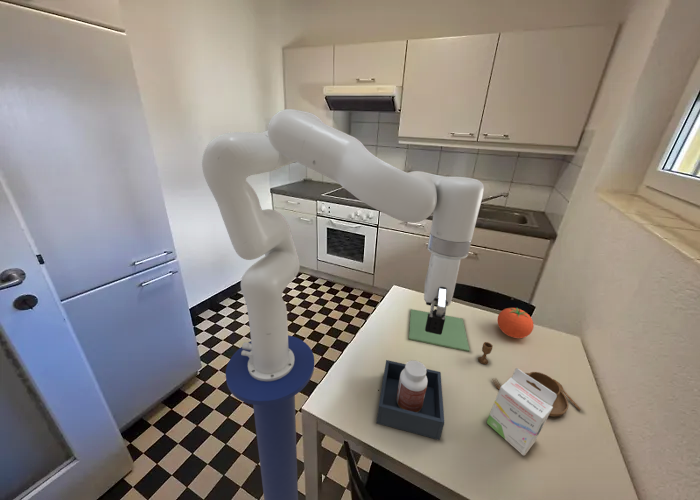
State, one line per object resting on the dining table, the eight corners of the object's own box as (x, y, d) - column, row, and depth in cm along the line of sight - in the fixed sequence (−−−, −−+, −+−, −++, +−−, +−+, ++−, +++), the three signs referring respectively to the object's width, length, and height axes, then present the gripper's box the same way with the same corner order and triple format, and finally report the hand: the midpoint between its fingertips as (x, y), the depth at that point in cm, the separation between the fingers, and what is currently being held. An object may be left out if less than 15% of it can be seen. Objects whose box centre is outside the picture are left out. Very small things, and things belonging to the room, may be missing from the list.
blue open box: (376, 423, 62) (378, 406, 59) (383, 375, 74) (386, 359, 72) (439, 440, 59) (444, 422, 57) (436, 387, 71) (440, 371, 69)
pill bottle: (426, 412, 64) (435, 377, 60) (402, 417, 63) (409, 381, 58) (415, 389, 70) (422, 355, 65) (392, 393, 68) (397, 359, 64)
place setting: (522, 423, 64) (531, 405, 61) (474, 357, 82) (478, 341, 79) (587, 415, 66) (597, 397, 64) (526, 353, 84) (532, 338, 82)
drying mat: (408, 339, 87) (409, 338, 87) (410, 310, 102) (410, 309, 101) (469, 351, 84) (469, 350, 83) (462, 319, 98) (462, 318, 98)
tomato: (526, 330, 95) (536, 305, 91) (530, 349, 86) (540, 323, 82) (493, 320, 99) (501, 296, 95) (494, 338, 90) (502, 312, 86)
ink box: (484, 423, 63) (502, 375, 57) (496, 412, 66) (514, 365, 60) (524, 457, 57) (549, 407, 51) (535, 444, 59) (560, 395, 54)
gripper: (428, 227, 61) (417, 294, 68) (427, 259, 46) (412, 340, 53) (464, 232, 60) (448, 299, 67) (476, 266, 44) (454, 349, 51)
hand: (432, 317), depth 60 cm, fingers open, 9 cm apart
